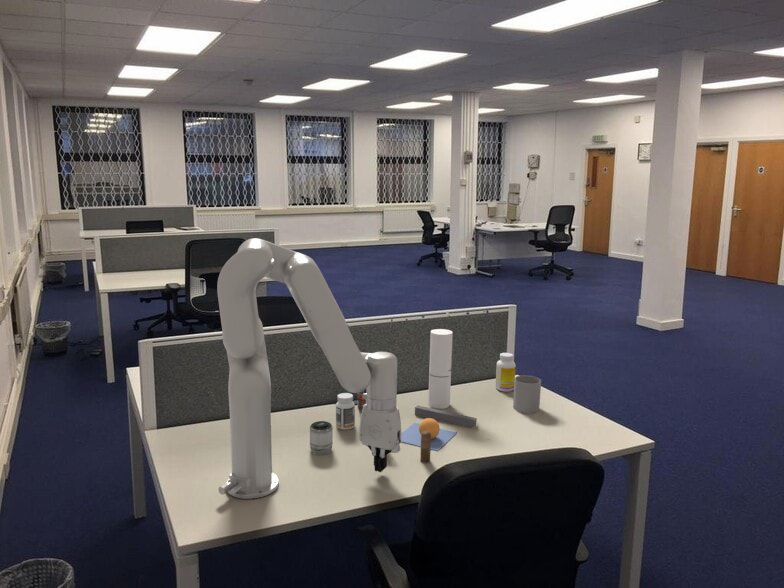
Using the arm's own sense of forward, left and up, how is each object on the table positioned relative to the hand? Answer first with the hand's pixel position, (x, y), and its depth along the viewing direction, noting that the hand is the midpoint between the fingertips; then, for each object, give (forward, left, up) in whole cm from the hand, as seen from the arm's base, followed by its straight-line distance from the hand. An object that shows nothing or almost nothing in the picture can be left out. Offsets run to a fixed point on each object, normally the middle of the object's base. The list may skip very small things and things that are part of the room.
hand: (380, 469), depth 161 cm
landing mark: (+27, 0, -2) cm, 27 cm away
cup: (+64, -19, -2) cm, 67 cm away
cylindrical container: (+52, +7, -2) cm, 52 cm away
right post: (+13, -7, -2) cm, 15 cm away
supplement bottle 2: (+78, -7, -2) cm, 78 cm away
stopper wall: (+41, 0, -2) cm, 41 cm away
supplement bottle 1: (+37, +26, -2) cm, 45 cm away
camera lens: (+4, +21, -2) cm, 21 cm away
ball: (+26, -1, +2) cm, 26 cm away
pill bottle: (+21, +24, -2) cm, 32 cm away
